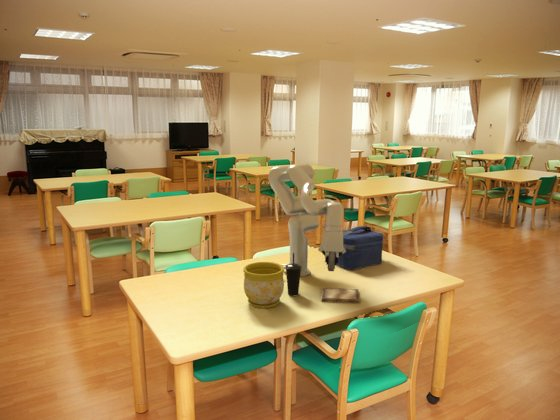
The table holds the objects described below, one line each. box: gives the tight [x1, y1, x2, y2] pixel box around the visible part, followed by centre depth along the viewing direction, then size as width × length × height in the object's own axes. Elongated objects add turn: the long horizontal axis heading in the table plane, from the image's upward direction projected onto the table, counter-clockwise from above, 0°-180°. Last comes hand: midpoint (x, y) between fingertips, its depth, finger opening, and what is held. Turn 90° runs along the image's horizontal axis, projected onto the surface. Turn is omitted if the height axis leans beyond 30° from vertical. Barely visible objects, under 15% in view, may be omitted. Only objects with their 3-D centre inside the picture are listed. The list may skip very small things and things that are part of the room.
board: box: [321, 287, 361, 304], centre depth 204 cm, size 17×14×2 cm
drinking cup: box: [285, 253, 302, 297], centre depth 205 cm, size 8×8×20 cm
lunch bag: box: [335, 225, 384, 270], centre depth 252 cm, size 31×21×20 cm
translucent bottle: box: [327, 252, 336, 272], centre depth 214 cm, size 4×4×13 cm
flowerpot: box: [242, 261, 285, 309], centre depth 195 cm, size 18×18×16 cm
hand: (331, 263), depth 215 cm, fingers closed on translucent bottle, 3 cm apart
